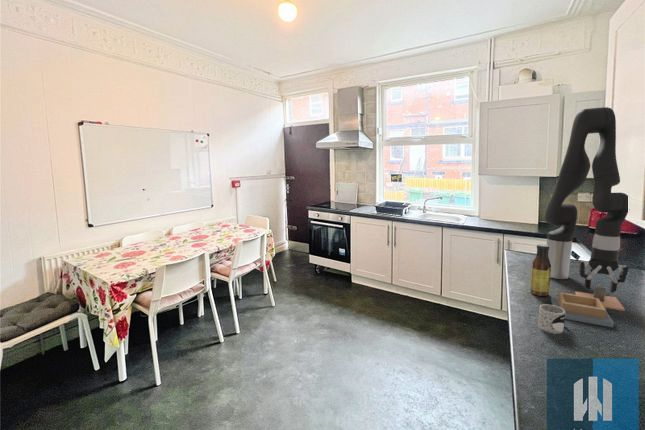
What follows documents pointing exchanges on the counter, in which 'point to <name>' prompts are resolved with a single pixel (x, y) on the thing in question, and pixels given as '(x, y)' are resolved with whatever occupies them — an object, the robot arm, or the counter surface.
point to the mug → (551, 319)
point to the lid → (604, 298)
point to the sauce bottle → (541, 272)
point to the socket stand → (583, 309)
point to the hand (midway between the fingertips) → (599, 290)
